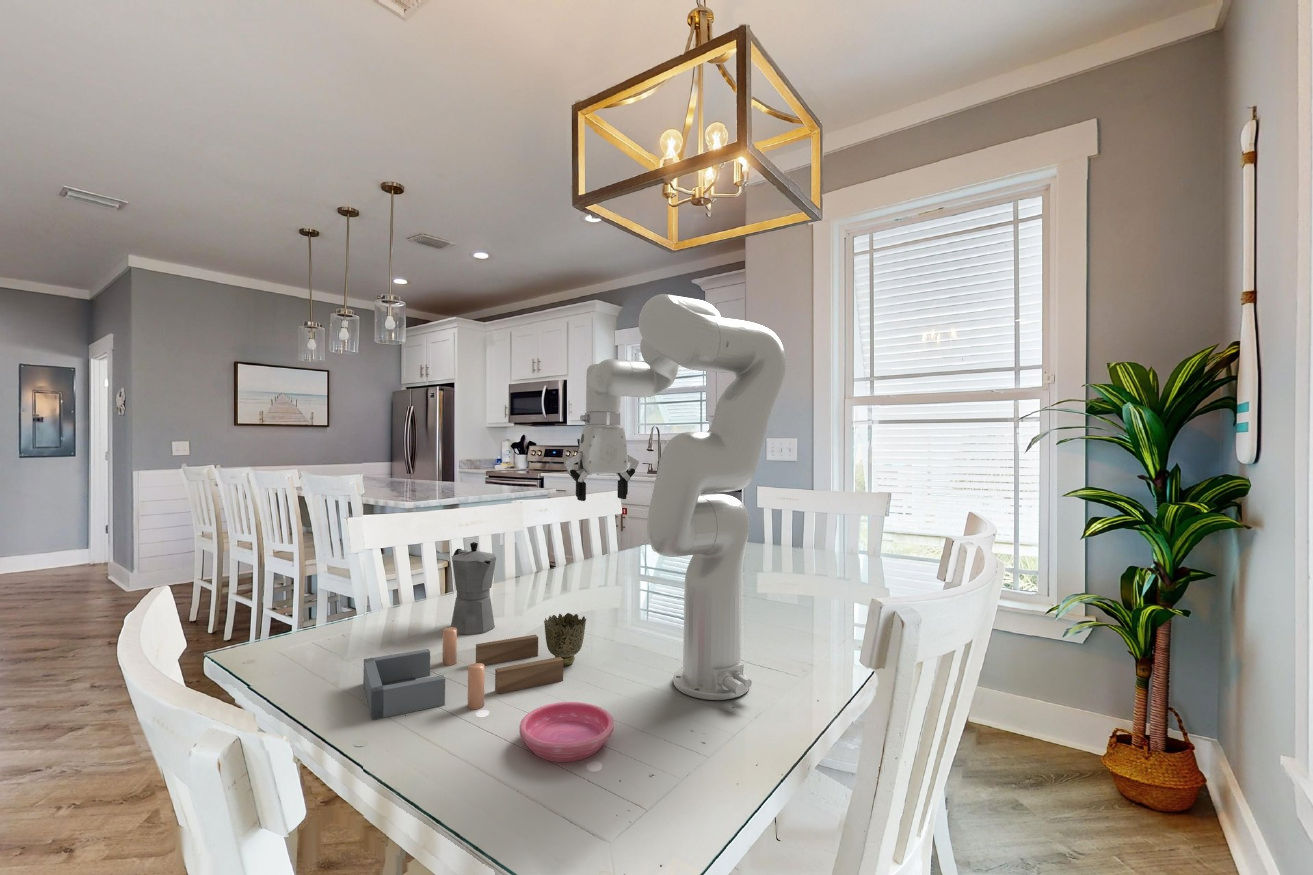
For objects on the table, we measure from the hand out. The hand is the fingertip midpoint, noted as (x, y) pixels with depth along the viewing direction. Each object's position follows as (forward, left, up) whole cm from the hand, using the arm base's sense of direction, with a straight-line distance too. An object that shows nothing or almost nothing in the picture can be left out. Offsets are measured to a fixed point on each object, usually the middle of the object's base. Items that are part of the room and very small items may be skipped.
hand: (602, 499), depth 131 cm
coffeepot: (+10, +25, -27) cm, 39 cm away
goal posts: (-18, +33, -27) cm, 47 cm away
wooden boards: (-18, +24, -27) cm, 40 cm away
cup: (-18, +15, -27) cm, 36 cm away
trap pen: (-18, +42, -27) cm, 53 cm away
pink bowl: (-44, +25, -27) cm, 58 cm away
